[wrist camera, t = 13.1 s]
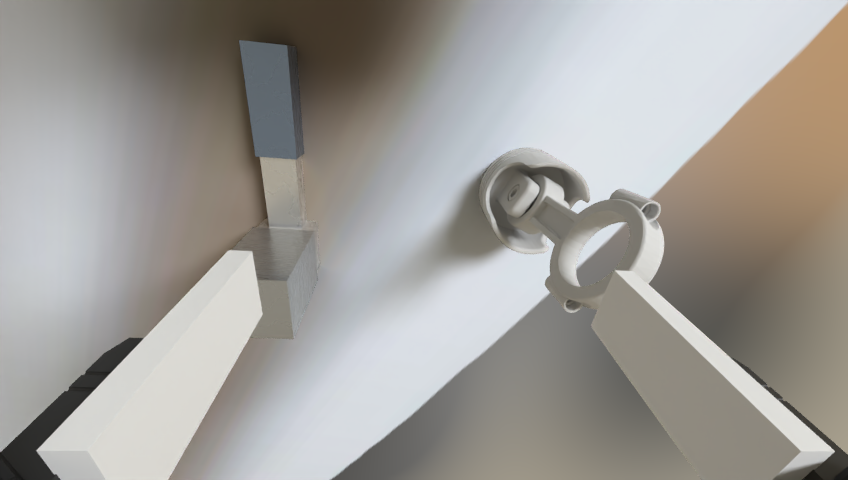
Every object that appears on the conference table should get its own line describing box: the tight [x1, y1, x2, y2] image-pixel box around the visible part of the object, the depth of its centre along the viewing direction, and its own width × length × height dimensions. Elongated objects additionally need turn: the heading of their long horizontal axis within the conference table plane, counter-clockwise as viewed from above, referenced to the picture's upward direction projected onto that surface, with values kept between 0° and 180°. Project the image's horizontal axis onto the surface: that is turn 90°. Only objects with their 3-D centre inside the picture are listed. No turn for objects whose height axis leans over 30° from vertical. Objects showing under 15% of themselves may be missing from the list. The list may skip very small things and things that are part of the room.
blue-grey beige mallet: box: [239, 40, 320, 270], centre depth 33 cm, size 24×6×8 cm, turn 175°
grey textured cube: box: [232, 227, 318, 339], centre depth 34 cm, size 7×7×10 cm
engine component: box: [479, 148, 664, 313], centre depth 30 cm, size 11×20×10 cm
